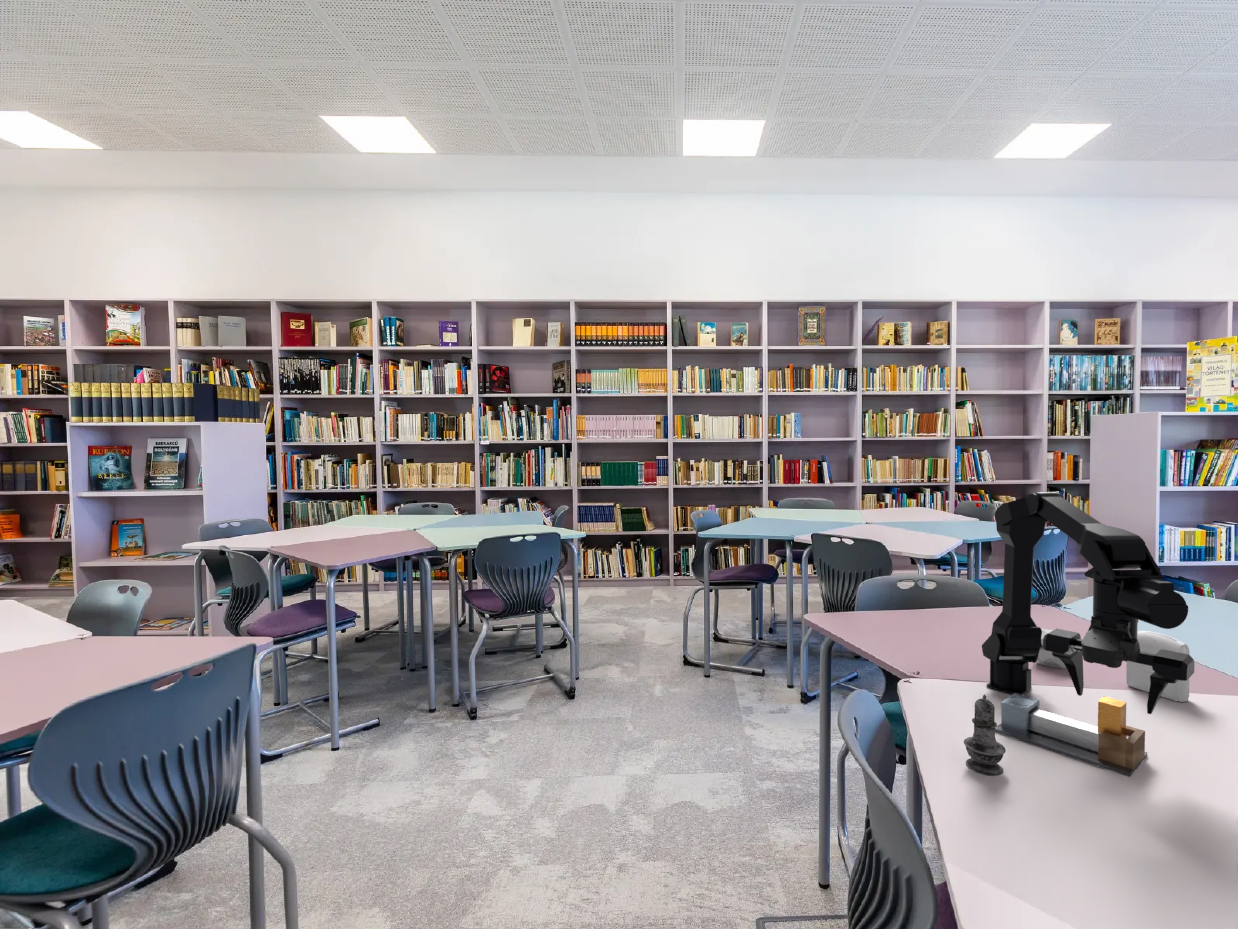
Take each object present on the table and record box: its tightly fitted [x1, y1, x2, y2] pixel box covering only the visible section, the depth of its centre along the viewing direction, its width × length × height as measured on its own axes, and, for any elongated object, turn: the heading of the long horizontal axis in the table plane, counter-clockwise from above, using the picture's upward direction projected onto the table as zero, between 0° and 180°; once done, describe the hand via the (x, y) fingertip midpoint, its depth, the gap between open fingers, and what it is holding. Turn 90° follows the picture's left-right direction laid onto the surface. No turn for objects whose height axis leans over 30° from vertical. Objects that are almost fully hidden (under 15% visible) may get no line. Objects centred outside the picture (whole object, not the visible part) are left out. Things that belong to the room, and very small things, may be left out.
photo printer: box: [1125, 630, 1190, 703], centre depth 127 cm, size 10×4×12 cm, turn 20°
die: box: [1036, 628, 1067, 670], centre depth 143 cm, size 8×9×10 cm
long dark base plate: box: [995, 693, 1148, 778], centre depth 107 cm, size 20×10×5 cm, turn 38°
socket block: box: [1098, 725, 1146, 769], centre depth 101 cm, size 4×7×4 cm
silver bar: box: [1028, 696, 1130, 752], centre depth 107 cm, size 17×3×8 cm, turn 38°
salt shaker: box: [963, 693, 1007, 777], centre depth 100 cm, size 6×6×12 cm
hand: (1113, 704), depth 102 cm, fingers open, 9 cm apart
